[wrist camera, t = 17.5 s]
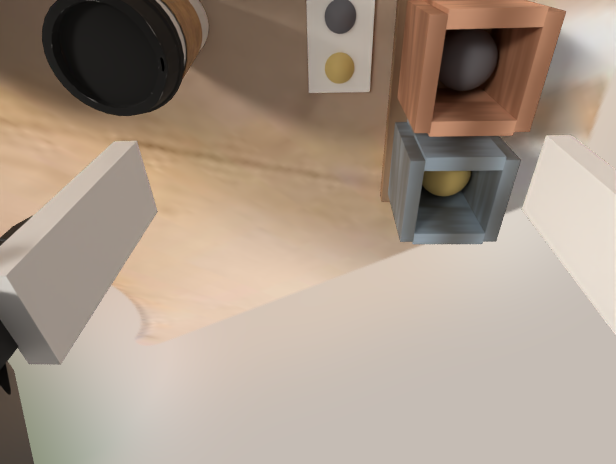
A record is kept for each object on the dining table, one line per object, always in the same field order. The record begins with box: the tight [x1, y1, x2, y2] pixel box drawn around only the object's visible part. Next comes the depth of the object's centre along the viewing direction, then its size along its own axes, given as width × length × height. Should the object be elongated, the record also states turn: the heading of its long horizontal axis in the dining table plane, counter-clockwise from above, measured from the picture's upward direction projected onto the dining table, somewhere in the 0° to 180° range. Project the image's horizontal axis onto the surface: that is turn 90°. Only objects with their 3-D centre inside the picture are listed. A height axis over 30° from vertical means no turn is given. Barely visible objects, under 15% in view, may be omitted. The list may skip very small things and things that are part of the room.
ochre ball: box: [422, 171, 471, 196], centre depth 40 cm, size 5×5×5 cm
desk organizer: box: [380, 0, 566, 244], centre depth 36 cm, size 10×21×10 cm, turn 2°
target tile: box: [306, 0, 375, 93], centre depth 37 cm, size 6×9×1 cm, turn 2°
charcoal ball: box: [439, 29, 498, 91], centre depth 34 cm, size 5×5×5 cm
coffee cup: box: [42, 0, 209, 116], centre depth 31 cm, size 8×8×15 cm
